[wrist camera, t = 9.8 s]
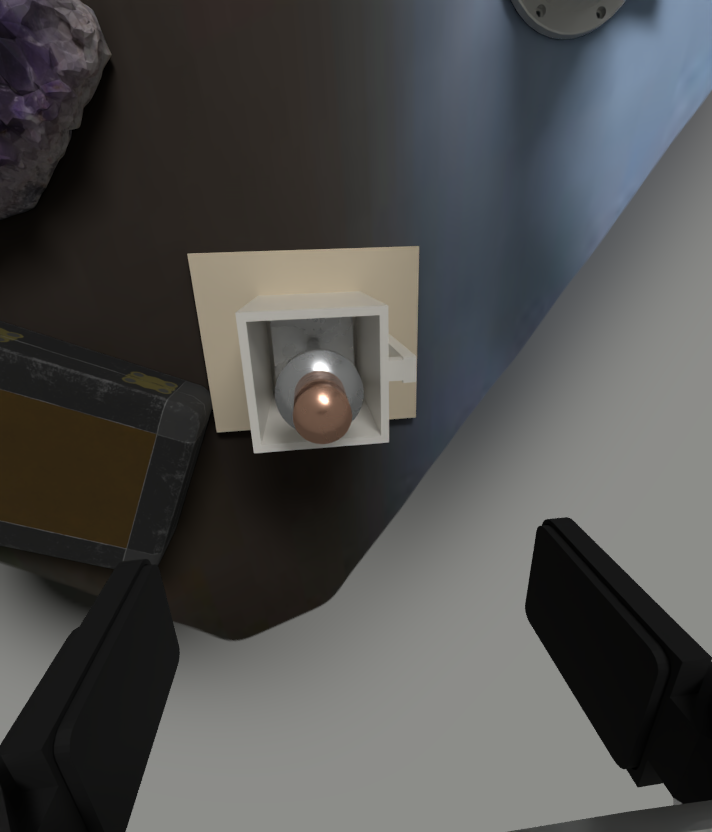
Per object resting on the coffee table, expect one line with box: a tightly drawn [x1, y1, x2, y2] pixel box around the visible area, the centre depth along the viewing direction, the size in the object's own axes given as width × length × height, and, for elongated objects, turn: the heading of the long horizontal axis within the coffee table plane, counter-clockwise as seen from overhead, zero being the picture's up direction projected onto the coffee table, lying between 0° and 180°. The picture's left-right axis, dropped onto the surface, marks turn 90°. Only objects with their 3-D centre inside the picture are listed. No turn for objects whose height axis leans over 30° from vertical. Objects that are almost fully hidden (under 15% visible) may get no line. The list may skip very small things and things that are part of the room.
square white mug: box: [188, 246, 419, 453], centre depth 36 cm, size 22×18×16 cm
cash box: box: [0, 321, 213, 569], centre depth 41 cm, size 25×20×8 cm
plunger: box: [270, 317, 364, 444], centre depth 32 cm, size 8×8×21 cm
